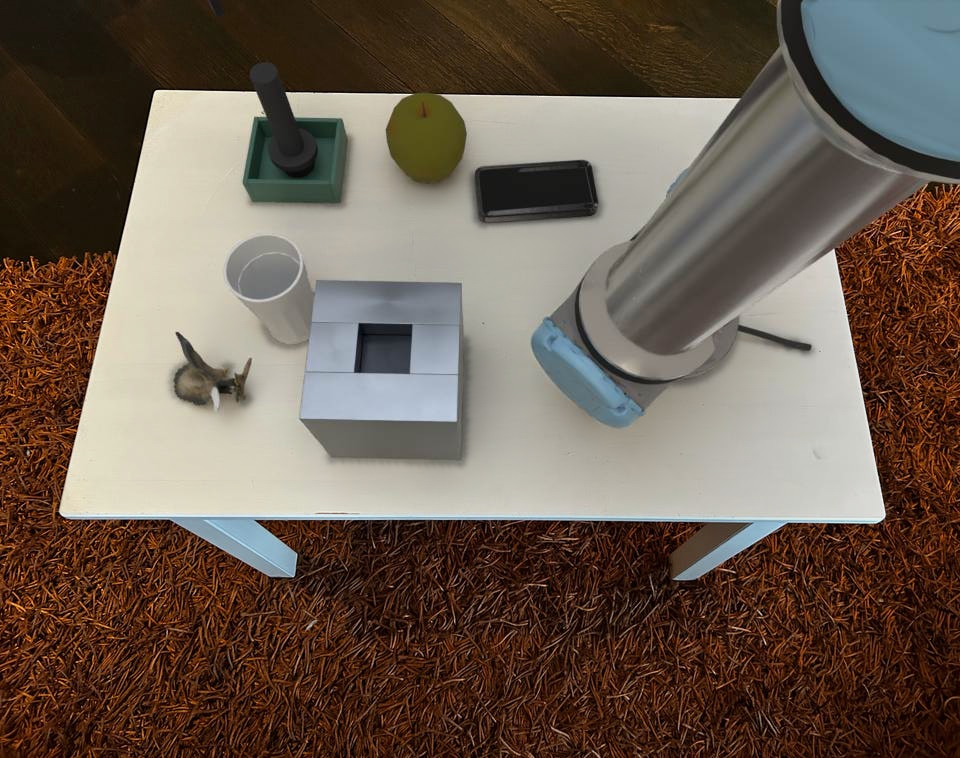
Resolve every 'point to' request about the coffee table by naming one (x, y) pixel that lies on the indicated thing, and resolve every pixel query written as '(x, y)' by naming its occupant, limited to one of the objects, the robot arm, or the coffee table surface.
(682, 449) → the coffee table surface
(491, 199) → the phone
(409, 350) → the square hole box
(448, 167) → the apple
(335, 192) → the green open tray
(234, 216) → the coffee table surface
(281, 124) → the plug
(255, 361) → the coffee table surface
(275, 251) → the cup
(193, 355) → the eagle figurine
